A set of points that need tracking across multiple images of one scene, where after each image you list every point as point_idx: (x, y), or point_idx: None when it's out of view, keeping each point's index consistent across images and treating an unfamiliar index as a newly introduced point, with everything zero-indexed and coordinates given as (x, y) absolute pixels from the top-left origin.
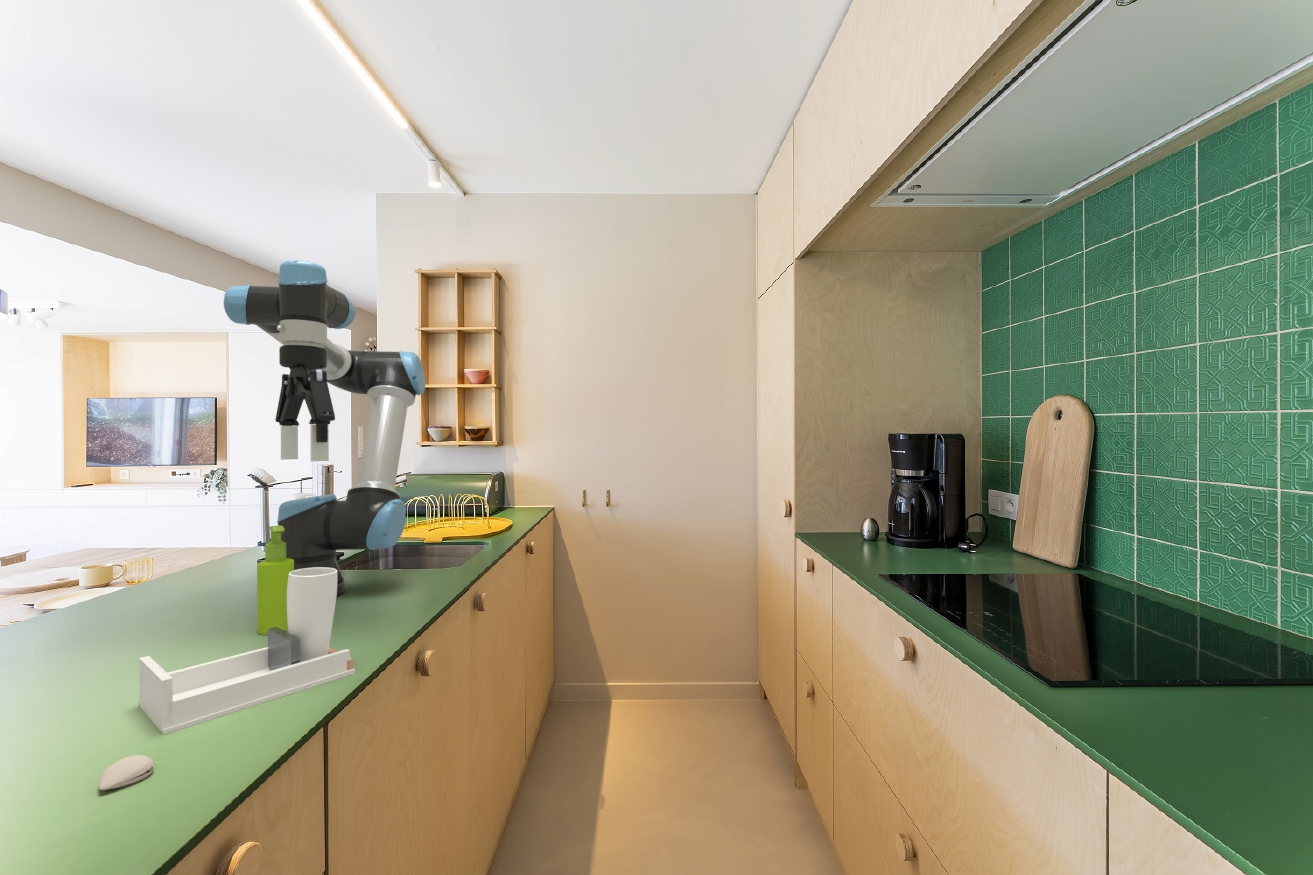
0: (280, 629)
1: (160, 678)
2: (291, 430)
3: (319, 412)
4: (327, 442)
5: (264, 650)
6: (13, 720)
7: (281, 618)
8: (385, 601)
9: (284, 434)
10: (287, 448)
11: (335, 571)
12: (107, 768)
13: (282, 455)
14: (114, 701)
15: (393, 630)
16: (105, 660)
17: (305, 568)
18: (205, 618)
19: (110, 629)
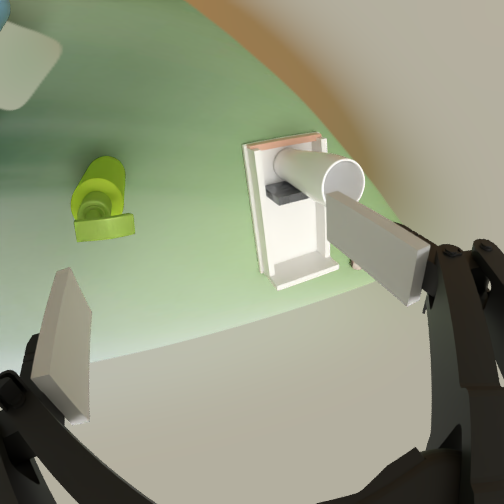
0: (291, 195)
1: (333, 270)
2: (68, 375)
3: (487, 300)
4: (378, 217)
5: (266, 201)
6: (227, 328)
7: (124, 175)
8: (66, 34)
9: (85, 380)
10: (82, 326)
11: (357, 163)
12: (358, 269)
13: (90, 321)
14: (235, 286)
15: (216, 56)
16: (119, 312)
17: (323, 190)
18: (11, 251)
19: (17, 324)
